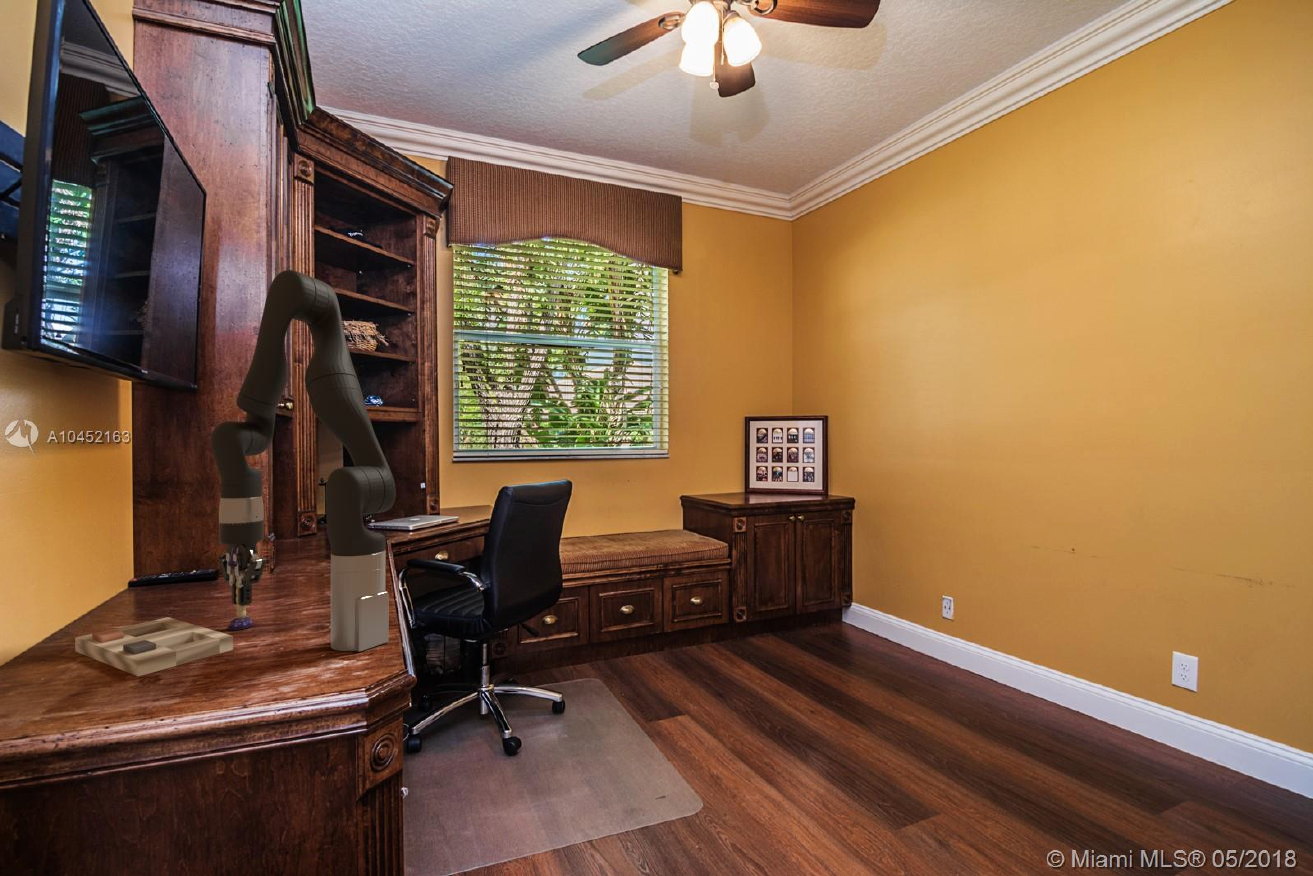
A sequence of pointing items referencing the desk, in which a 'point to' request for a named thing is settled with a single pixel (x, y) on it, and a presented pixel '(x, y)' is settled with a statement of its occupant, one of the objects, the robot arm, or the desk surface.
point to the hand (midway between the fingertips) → (241, 603)
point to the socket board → (153, 645)
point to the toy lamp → (241, 619)
